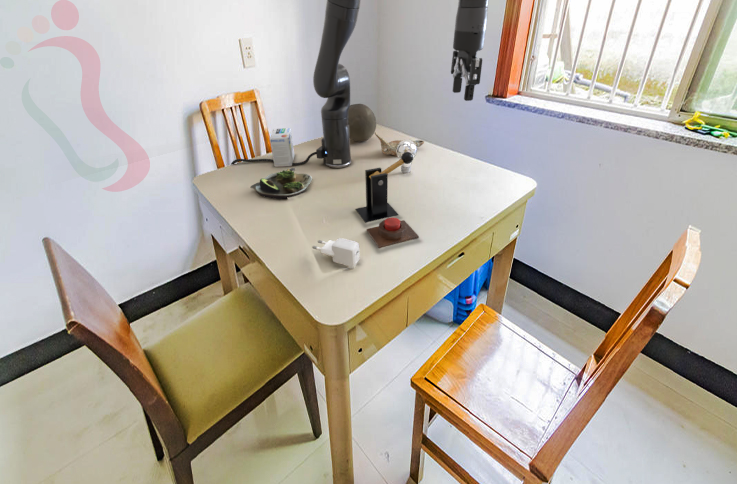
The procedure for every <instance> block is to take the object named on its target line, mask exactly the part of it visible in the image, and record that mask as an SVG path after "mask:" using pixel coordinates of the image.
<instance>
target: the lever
mask: <svg viewBox="0 0 737 484" xmlns="http://www.w3.org/2000/svg"><path fill="white" fill-rule="evenodd" d="M413 161H414V159H413V155H412V154H411V153H410V152H405V153H403V154H402V156H401V159H400V160H399V159H398V160H397V161H396V162H394V163H393V164H391V165H390V166H388V167H387V168H385V169H384V170H381V171H382V172H381V173H379V172H378V171H376V172H375V173H373V174H372V175H370V176H369V178H370V180H371V176H374V175H379V174H384V173H387V174H388V175H389V174H390V173H391V172H393V171H395V170H396V169H398V168H399V167H401V165H402V164H404V163H405V164H410V163H411V162H412V163H413Z"/></svg>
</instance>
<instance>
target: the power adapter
mask: <svg viewBox="0 0 737 484" xmlns="http://www.w3.org/2000/svg"><path fill="white" fill-rule="evenodd" d="M317 244H321V245H323V246H322V247H321V246H317V245H312V247H311V248H312V249H313V250H318V251H320V253H321V254H322V255H326V256H328V257H331V258H332V262H333V263H336V264H340V265H343V266H345V268H348V269H350V270H351V269H355V268H356V266H357V265H358V263H359V262H360V259H361V254H360V253H361V252H360V249H361V248H360V243H359V242H358V241H355V240H351V239H347V238H343V237H338V238H337V239H336V240H332V239H328V240H327V241H324V240H320V239H318V240H317Z"/></svg>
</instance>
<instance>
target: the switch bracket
mask: <svg viewBox="0 0 737 484" xmlns="http://www.w3.org/2000/svg"><path fill="white" fill-rule="evenodd" d="M364 171H365V172H364V175H365V178H364V179H365V206H361V207H358V208H355V211H356V212H357V213H358V215H359V216H360V218H361V219H362V221H364V223H366V224H367V223H371V222H374V221H375V222H376V221H379V220H380V221H381V220H385V219H387V218H392V217H396V216H400V215H399V213H398V212H397V211H396V210H395V209H394V208H393V207H392V206H391V205H390V203H389V202H388V179H389V178H388V177H389V173H388V174H387V173H384V174H379V175H374V176H371V180H370V178H369V176H370V175H372V174H373V173H375V172H376V171H378V172H379V173H381V172H382V171H383V170H382V167H375V168H369V169H365V170H364Z"/></svg>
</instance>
